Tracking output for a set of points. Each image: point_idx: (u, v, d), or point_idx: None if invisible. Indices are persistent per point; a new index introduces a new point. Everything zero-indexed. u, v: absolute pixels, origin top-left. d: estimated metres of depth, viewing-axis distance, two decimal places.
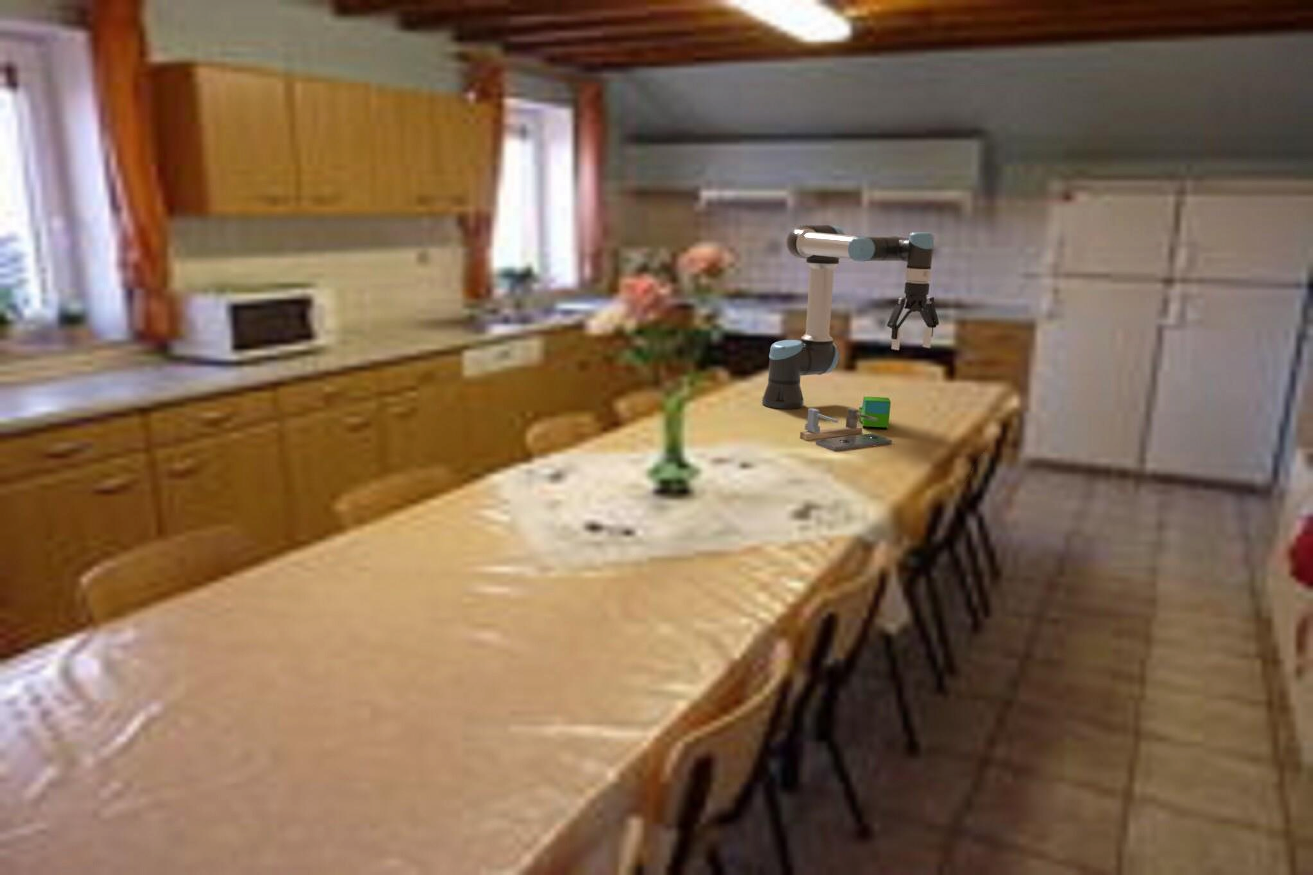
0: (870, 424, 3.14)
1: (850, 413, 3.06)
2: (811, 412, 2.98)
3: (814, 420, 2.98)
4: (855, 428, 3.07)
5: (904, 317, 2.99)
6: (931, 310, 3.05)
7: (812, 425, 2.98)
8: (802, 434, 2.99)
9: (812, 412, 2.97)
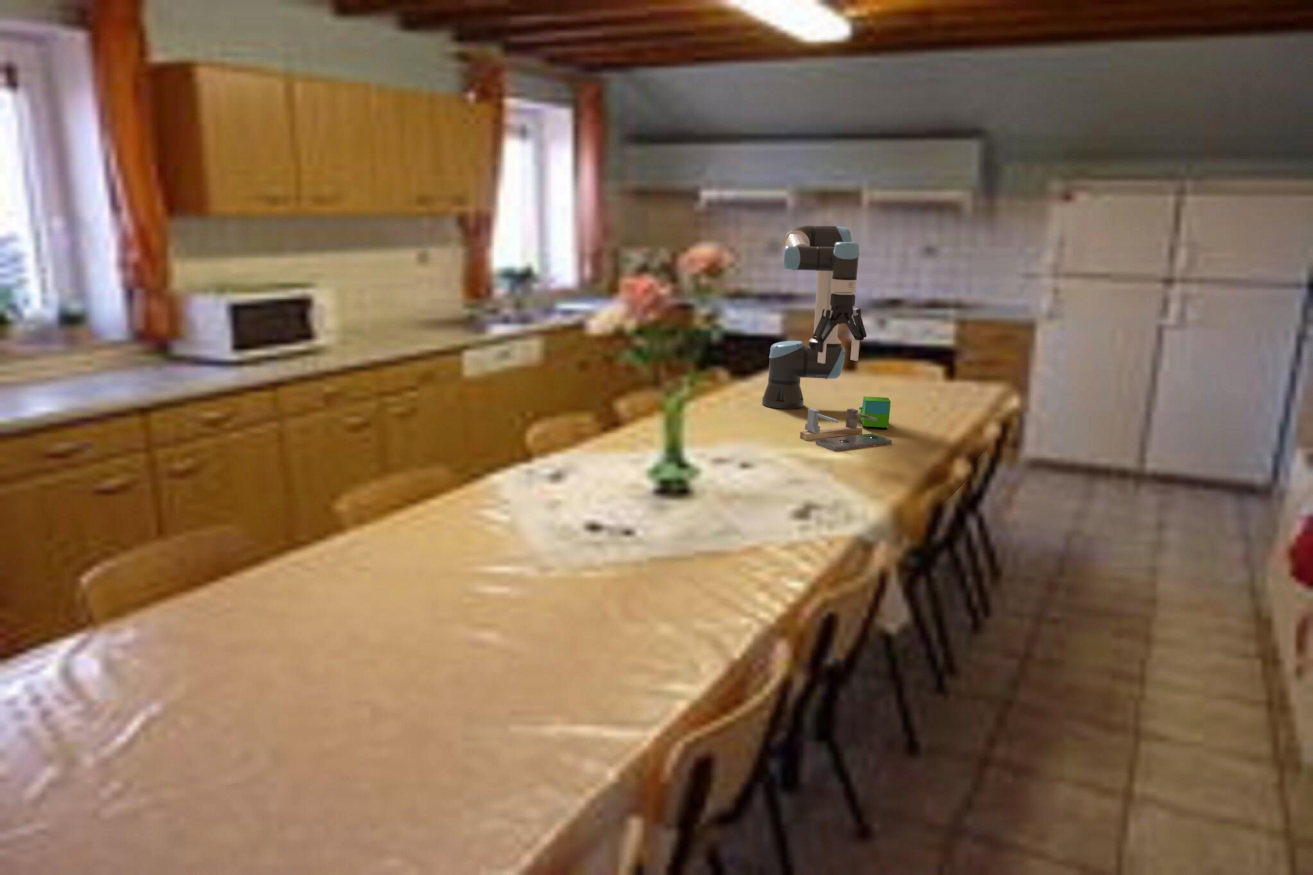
0: (870, 424, 3.14)
1: (850, 413, 3.06)
2: (811, 412, 2.98)
3: (814, 420, 2.98)
4: (855, 428, 3.07)
5: (830, 329, 2.90)
6: (858, 322, 2.96)
7: (812, 425, 2.98)
8: (802, 434, 2.99)
9: (812, 412, 2.97)
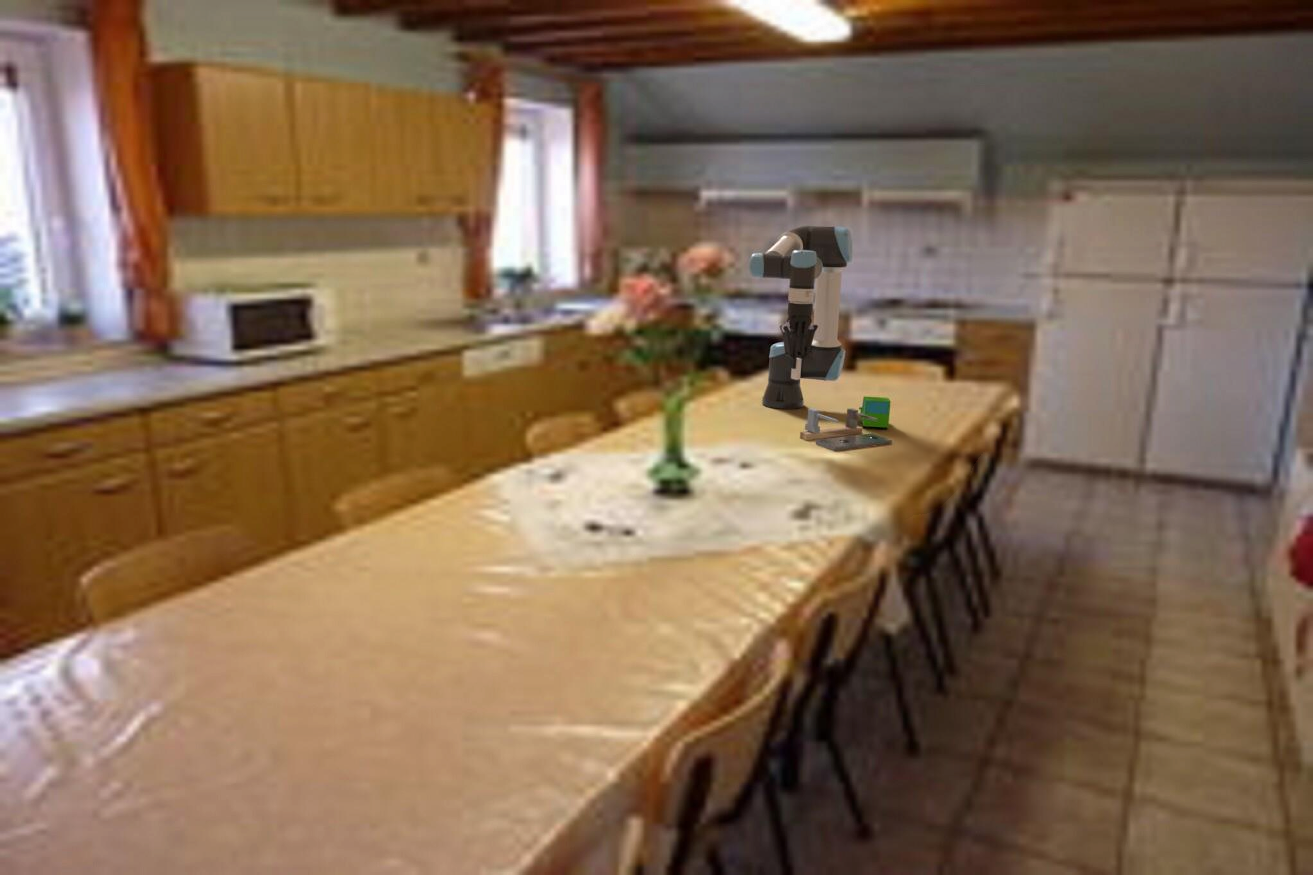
0: (870, 424, 3.14)
1: (850, 413, 3.06)
2: (811, 412, 2.98)
3: (814, 420, 2.98)
4: (855, 428, 3.07)
5: (796, 343, 2.87)
6: (809, 337, 2.90)
7: (812, 425, 2.98)
8: (802, 434, 2.99)
9: (812, 412, 2.97)
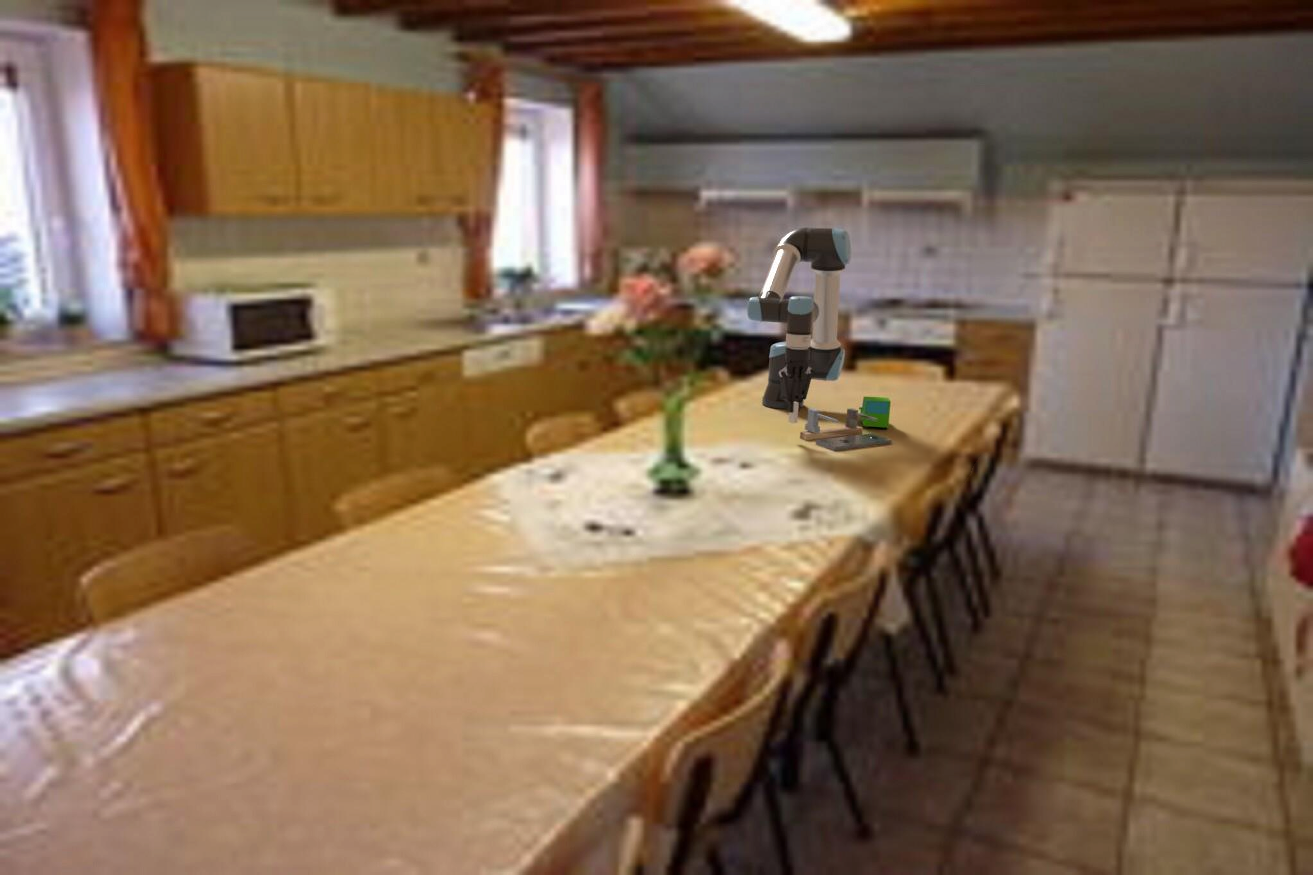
0: (870, 424, 3.14)
1: (850, 413, 3.06)
2: (811, 412, 2.98)
3: (814, 420, 2.98)
4: (855, 428, 3.07)
5: (793, 388, 2.91)
6: (806, 381, 2.93)
7: (812, 425, 2.98)
8: (802, 434, 2.99)
9: (812, 412, 2.97)
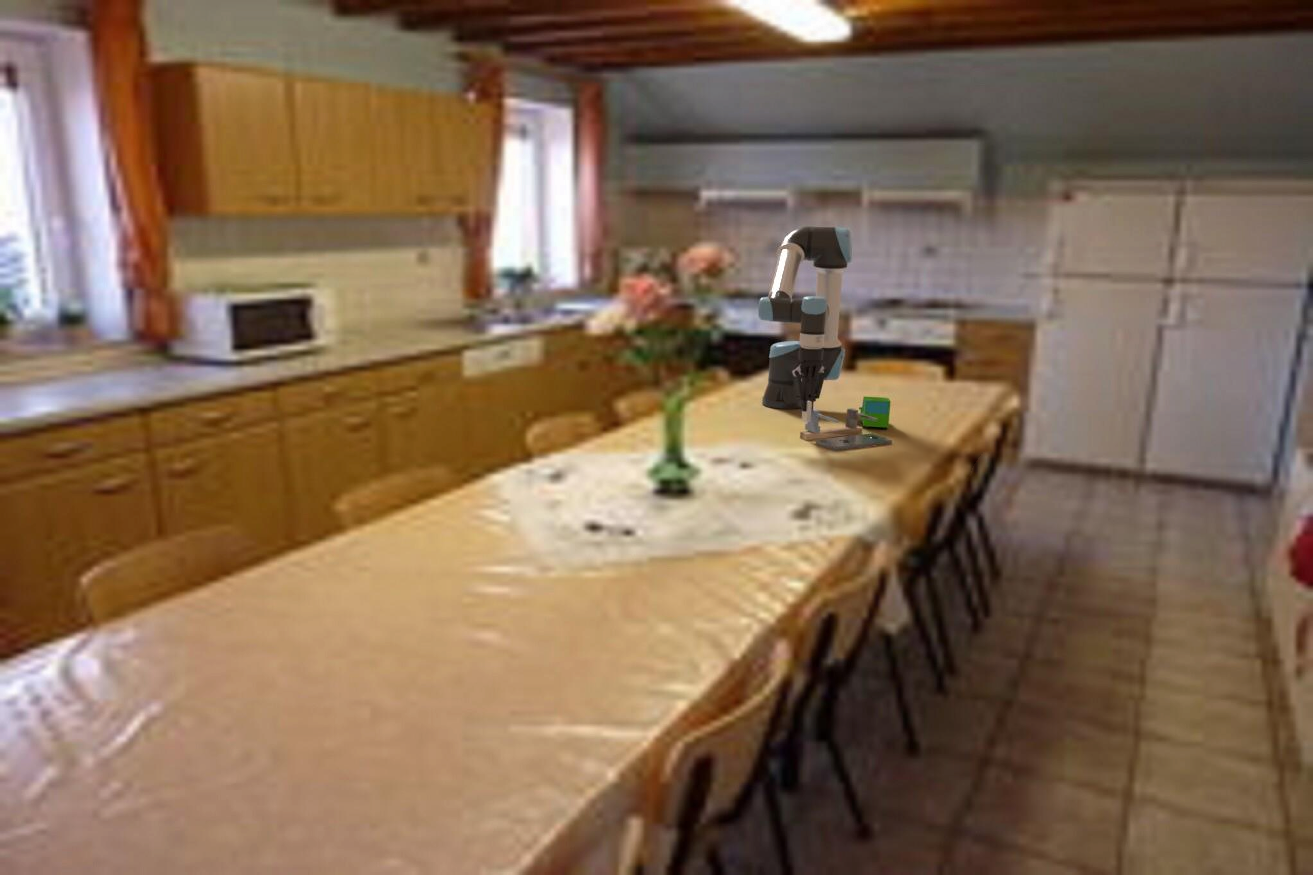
0: (870, 424, 3.14)
1: (850, 413, 3.06)
2: (811, 412, 2.98)
3: (815, 420, 2.98)
4: (855, 428, 3.07)
5: (807, 387, 2.93)
6: (819, 380, 2.96)
7: (812, 425, 2.98)
8: (802, 434, 2.99)
9: (812, 412, 2.97)
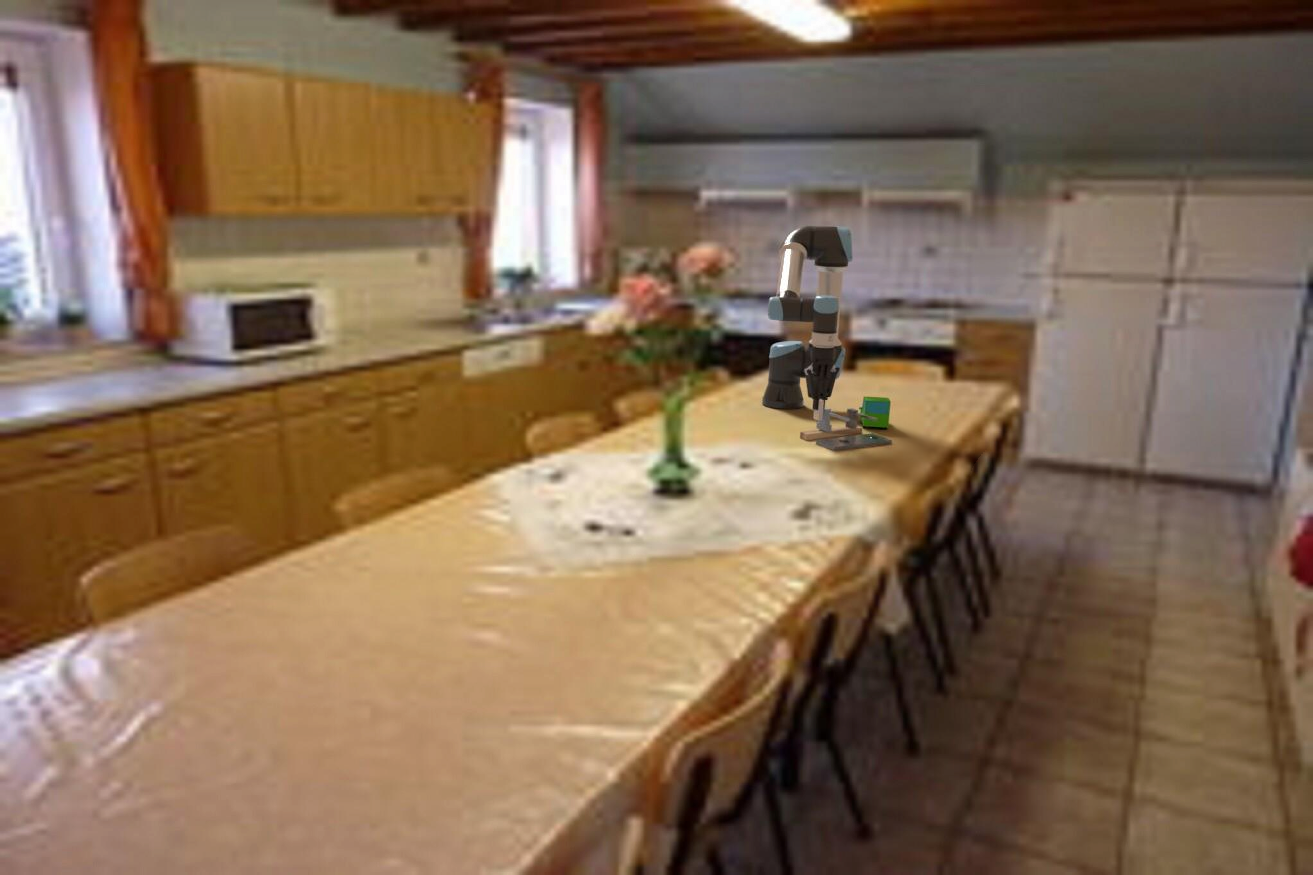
0: (870, 424, 3.14)
1: (850, 413, 3.06)
2: (823, 411, 3.00)
3: (826, 419, 3.00)
4: (855, 428, 3.07)
5: (819, 386, 2.96)
6: (831, 379, 2.98)
7: (824, 424, 3.00)
8: (802, 434, 2.99)
9: (824, 410, 3.00)
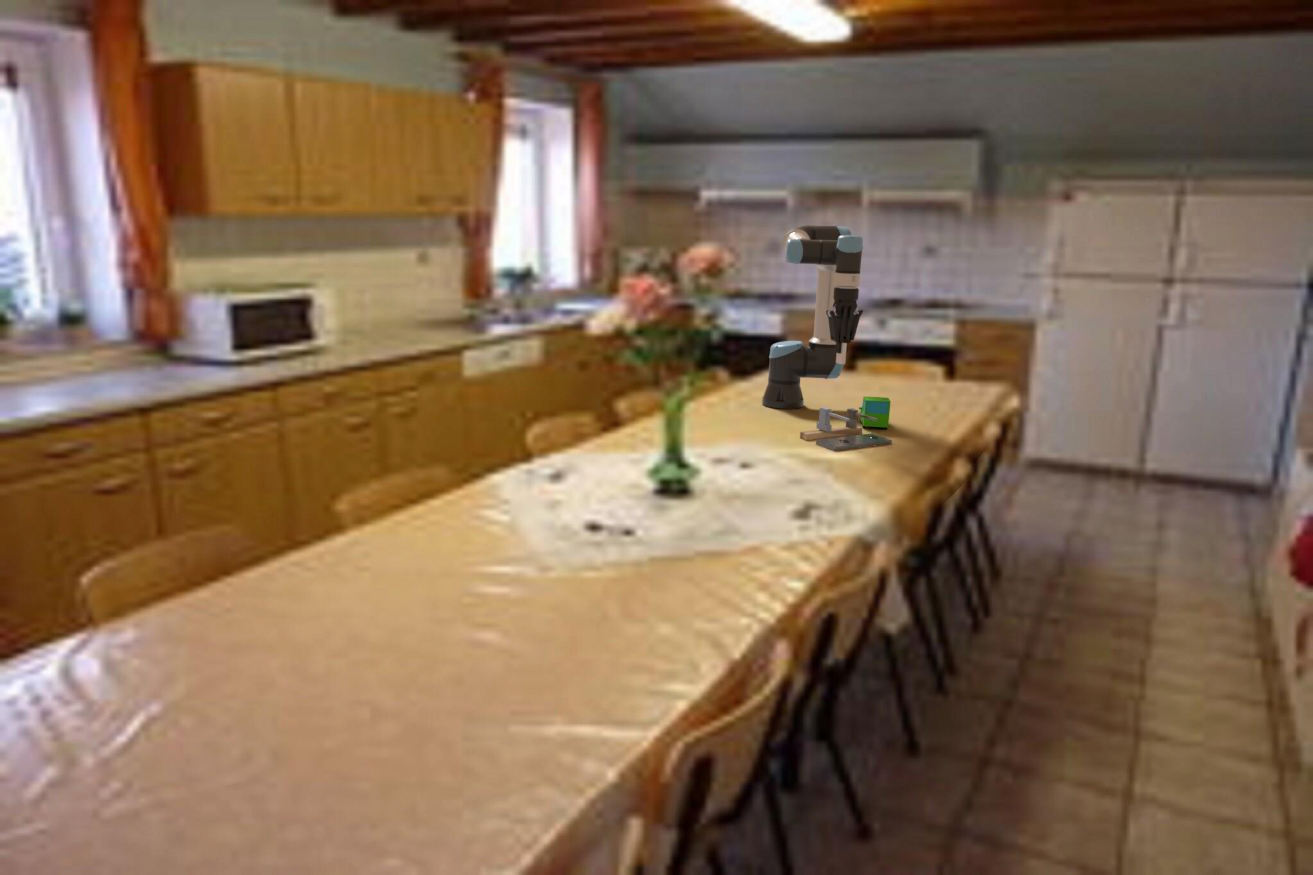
0: (870, 424, 3.14)
1: (850, 413, 3.06)
2: (823, 411, 3.00)
3: (826, 419, 3.00)
4: (855, 428, 3.07)
5: (842, 328, 2.90)
6: (854, 322, 2.92)
7: (824, 424, 3.00)
8: (802, 434, 2.99)
9: (824, 410, 3.00)
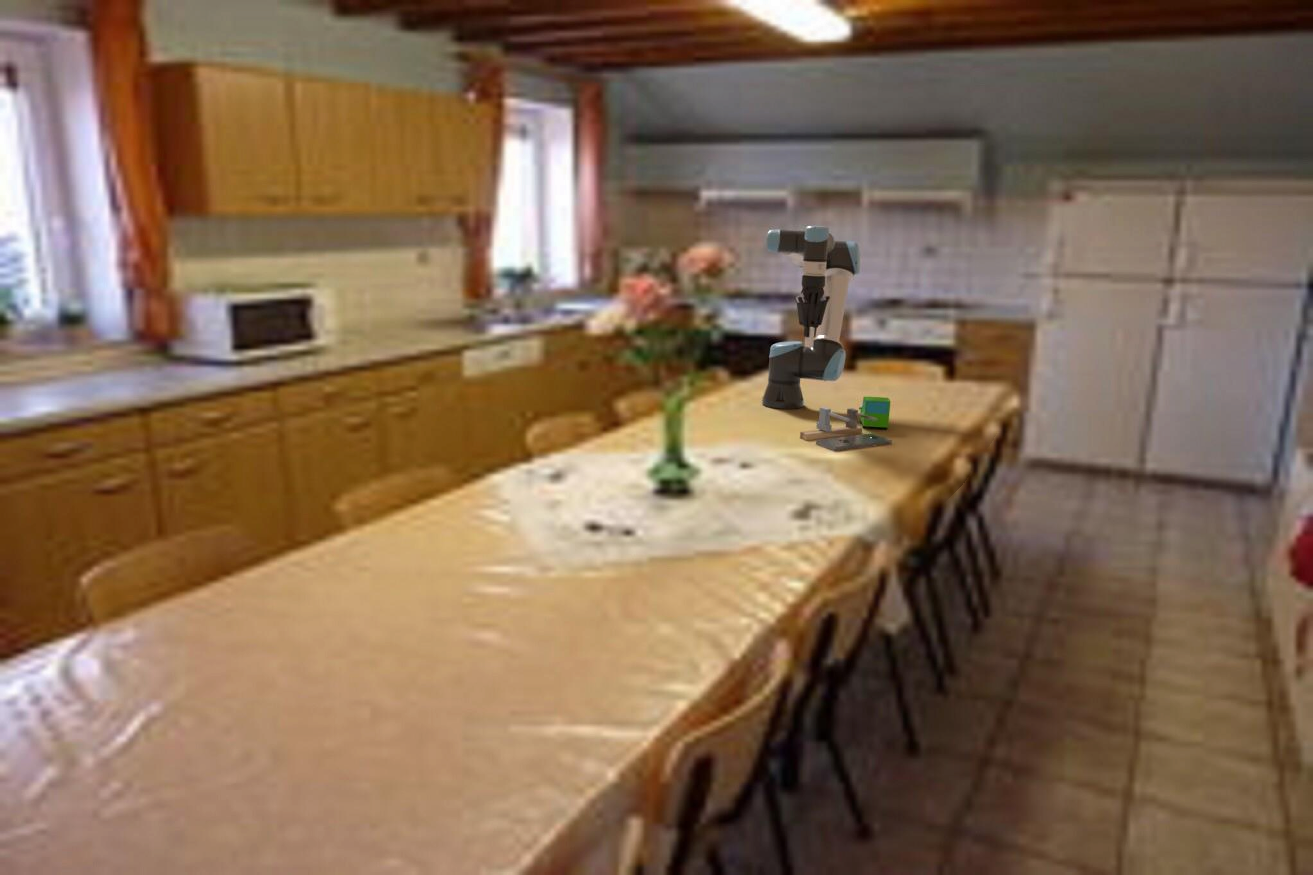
0: (870, 424, 3.14)
1: (850, 413, 3.06)
2: (823, 411, 3.00)
3: (826, 419, 3.00)
4: (855, 428, 3.07)
5: (810, 313, 3.07)
6: (821, 307, 3.10)
7: (824, 424, 3.00)
8: (802, 434, 2.99)
9: (824, 410, 3.00)
